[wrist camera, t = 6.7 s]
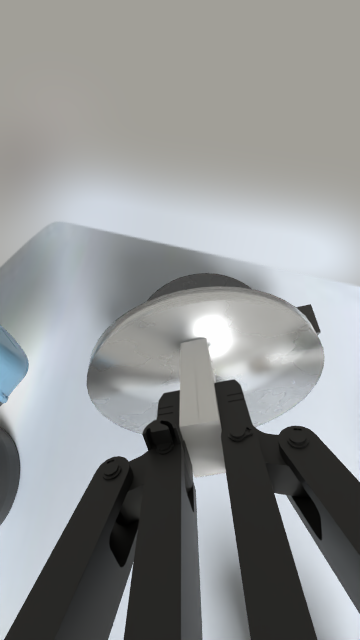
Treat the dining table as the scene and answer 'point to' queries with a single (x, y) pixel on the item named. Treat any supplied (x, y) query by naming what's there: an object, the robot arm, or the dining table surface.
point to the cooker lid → (224, 347)
